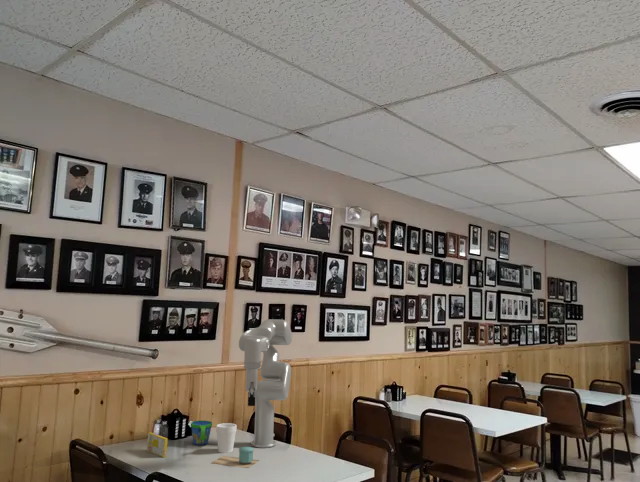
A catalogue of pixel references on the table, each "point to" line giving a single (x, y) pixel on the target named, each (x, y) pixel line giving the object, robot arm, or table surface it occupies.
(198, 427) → the snack cup
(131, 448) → the table surface
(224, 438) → the foam cup
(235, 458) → the board
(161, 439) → the candy box
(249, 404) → the robot arm
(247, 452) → the cap
